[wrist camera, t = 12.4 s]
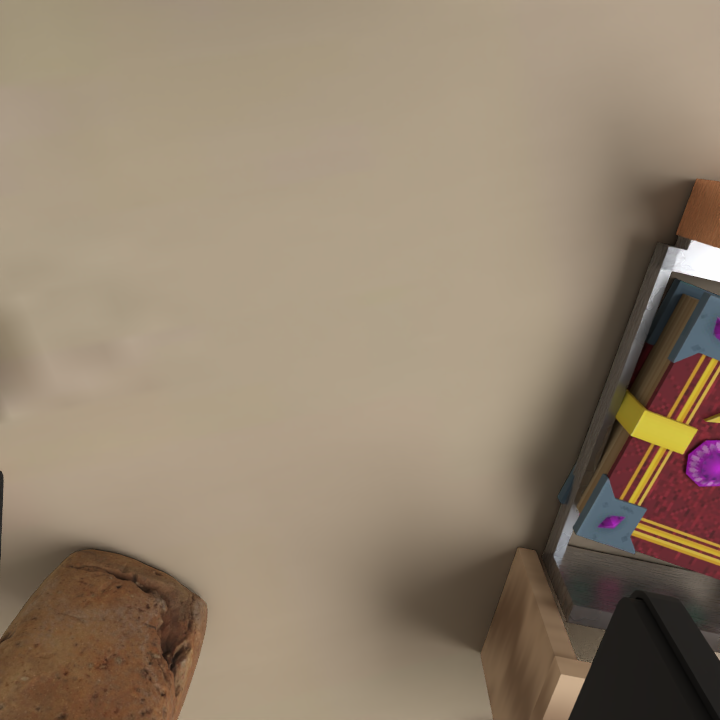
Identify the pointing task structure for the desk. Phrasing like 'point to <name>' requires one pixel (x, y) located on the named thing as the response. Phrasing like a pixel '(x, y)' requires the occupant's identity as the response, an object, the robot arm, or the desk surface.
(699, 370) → the decorative book
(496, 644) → the wooden arch stand
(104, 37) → the desk surface
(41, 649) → the block
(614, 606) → the tray
